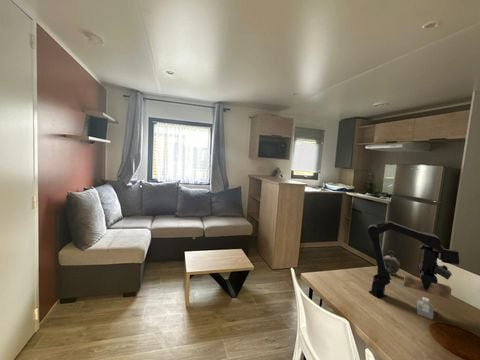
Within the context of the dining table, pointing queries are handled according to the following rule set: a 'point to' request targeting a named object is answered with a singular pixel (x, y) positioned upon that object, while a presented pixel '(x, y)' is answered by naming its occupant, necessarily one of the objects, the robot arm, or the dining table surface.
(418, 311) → the ridge stand
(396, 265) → the alarm clock
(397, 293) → the dining table surface
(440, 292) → the walnut bar
